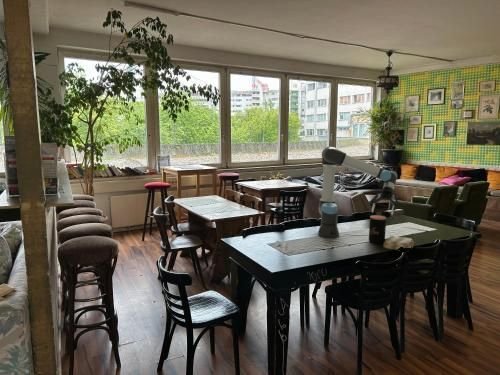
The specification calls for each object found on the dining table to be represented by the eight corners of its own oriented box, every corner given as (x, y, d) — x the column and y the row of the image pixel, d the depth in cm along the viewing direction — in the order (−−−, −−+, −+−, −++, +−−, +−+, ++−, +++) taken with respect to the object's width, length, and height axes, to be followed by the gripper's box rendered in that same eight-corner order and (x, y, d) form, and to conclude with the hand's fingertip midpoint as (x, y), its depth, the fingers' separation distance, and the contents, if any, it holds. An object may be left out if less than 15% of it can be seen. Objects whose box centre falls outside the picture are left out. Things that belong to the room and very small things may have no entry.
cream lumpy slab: (383, 247, 244) (383, 240, 243) (389, 241, 257) (389, 234, 256) (409, 251, 235) (409, 244, 234) (413, 245, 248) (414, 238, 248)
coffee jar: (365, 240, 259) (366, 215, 256) (377, 239, 263) (379, 214, 260) (375, 245, 249) (377, 219, 246) (388, 243, 253) (389, 218, 250)
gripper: (406, 194, 267) (400, 218, 257) (371, 190, 281) (365, 213, 270) (405, 187, 262) (399, 211, 252) (370, 184, 276) (363, 207, 265)
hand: (381, 212), depth 261 cm, fingers open, 13 cm apart
